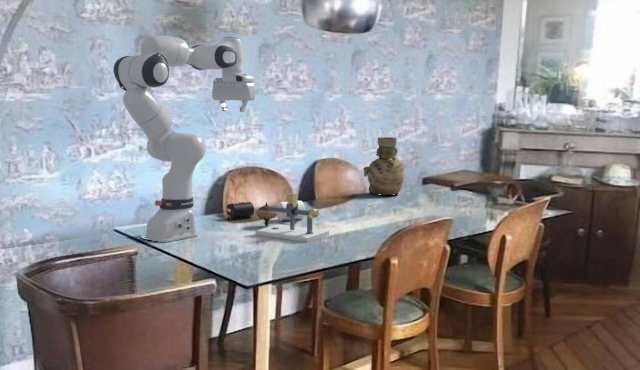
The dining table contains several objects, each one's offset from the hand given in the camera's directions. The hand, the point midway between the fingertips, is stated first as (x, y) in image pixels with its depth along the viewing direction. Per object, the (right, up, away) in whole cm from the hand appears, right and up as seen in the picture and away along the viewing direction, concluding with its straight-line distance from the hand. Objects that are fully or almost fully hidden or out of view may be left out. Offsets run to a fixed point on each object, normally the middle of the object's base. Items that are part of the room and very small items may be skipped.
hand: (233, 111), depth 288 cm
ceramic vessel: (+70, -36, +79) cm, 111 cm away
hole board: (+25, -50, -19) cm, 59 cm away
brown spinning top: (+14, -47, -3) cm, 50 cm away
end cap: (+1, -45, +14) cm, 47 cm away
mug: (+24, -46, +9) cm, 52 cm away
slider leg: (+25, -48, -20) cm, 57 cm away
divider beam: (+25, -48, -20) cm, 58 cm away
